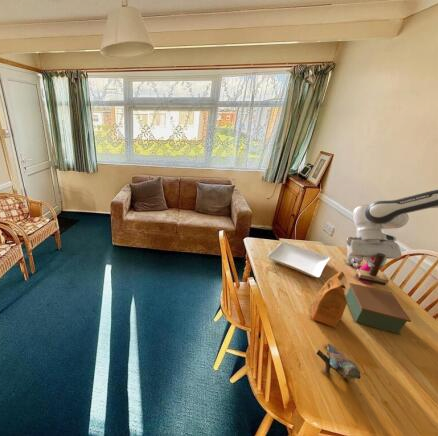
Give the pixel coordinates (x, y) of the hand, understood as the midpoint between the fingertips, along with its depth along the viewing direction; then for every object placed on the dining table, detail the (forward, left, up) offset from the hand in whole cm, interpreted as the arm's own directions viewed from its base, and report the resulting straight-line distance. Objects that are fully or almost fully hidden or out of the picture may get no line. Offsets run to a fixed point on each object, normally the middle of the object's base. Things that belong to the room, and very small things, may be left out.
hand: (377, 267), depth 104 cm
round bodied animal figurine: (-4, -29, -18) cm, 34 cm away
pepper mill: (-6, -17, -18) cm, 25 cm away
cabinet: (0, +11, -18) cm, 21 cm away
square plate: (+25, -21, -18) cm, 37 cm away
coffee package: (+19, +21, -18) cm, 34 cm away
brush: (0, 0, -8) cm, 8 cm away
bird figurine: (+22, +48, -18) cm, 56 cm away
